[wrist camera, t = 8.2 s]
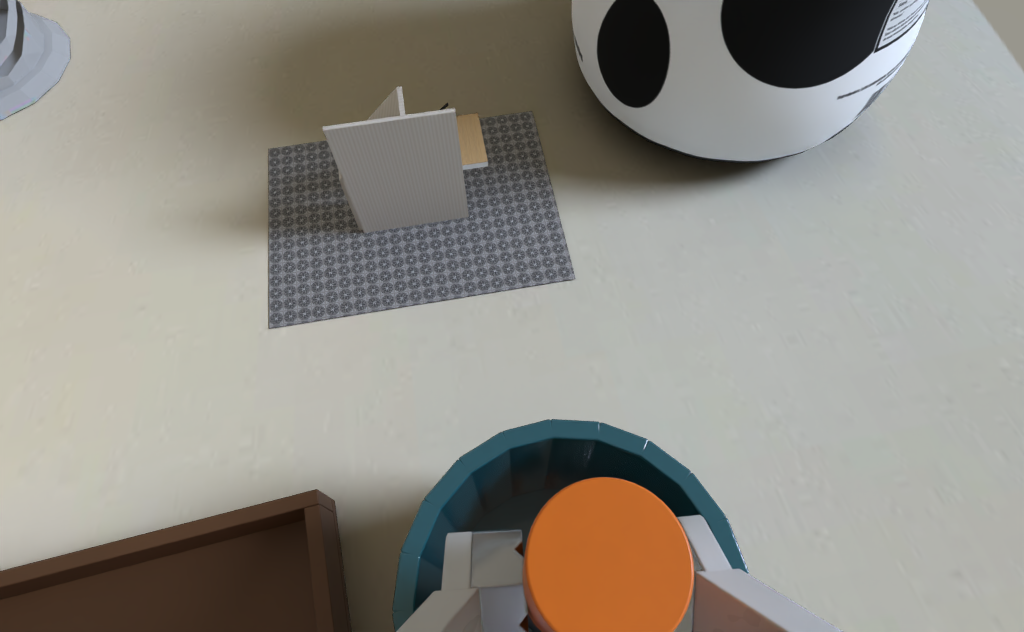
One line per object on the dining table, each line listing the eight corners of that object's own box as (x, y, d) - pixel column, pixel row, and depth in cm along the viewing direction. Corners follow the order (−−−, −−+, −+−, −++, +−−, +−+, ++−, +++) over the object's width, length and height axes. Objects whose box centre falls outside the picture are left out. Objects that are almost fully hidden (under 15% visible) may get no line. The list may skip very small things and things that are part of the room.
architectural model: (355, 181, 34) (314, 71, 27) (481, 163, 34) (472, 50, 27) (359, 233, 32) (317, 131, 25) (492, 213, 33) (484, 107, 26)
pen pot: (719, 705, 23) (819, 747, 15) (462, 786, 22) (432, 874, 14) (631, 453, 27) (675, 386, 19) (412, 511, 26) (368, 464, 18)
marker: (589, 627, 22) (722, 629, 8) (528, 645, 21) (552, 682, 7) (570, 561, 23) (659, 458, 9) (512, 577, 22) (506, 500, 8)
